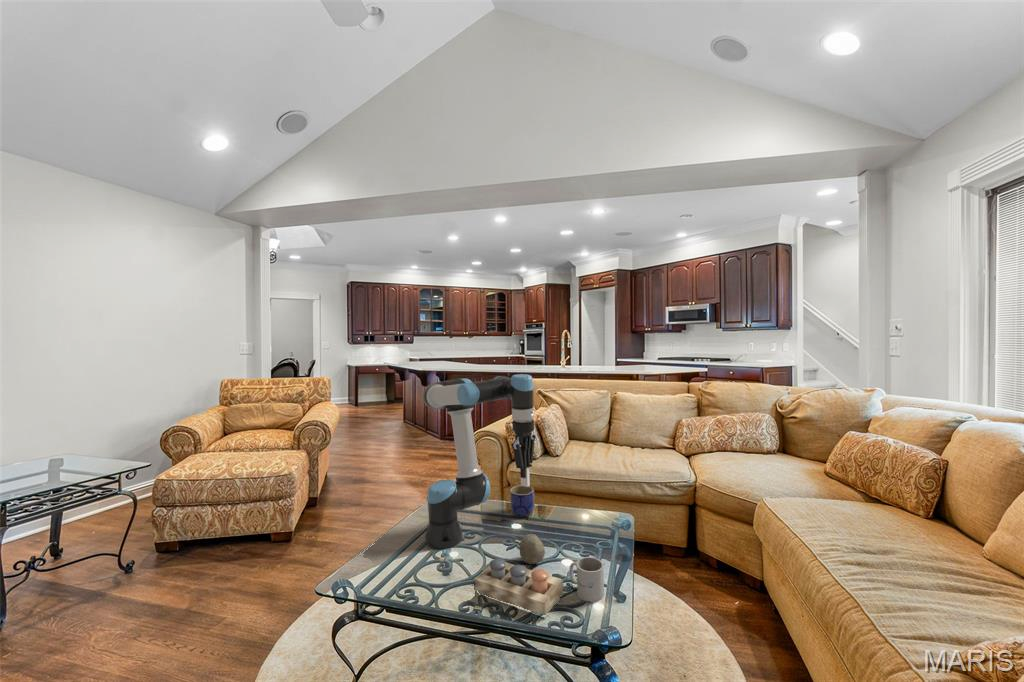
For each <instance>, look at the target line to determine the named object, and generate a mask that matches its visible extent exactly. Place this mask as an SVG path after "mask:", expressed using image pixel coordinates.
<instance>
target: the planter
mask: <svg viewBox="0 0 1024 682" xmlns="http://www.w3.org/2000/svg"><path fill="white" fill-rule="evenodd" d="M509 501H510V509H511V511H512V513H513V514H514V515H515V516H516V517H520V518H524V517H528V516H530V515H531V514H532V513H533V511H534V508H535V489H534V487H532V486H528V487H525V486H521V484H520V485H515V486H513V487H511V488H510V489H509Z"/></svg>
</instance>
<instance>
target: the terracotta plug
mask: <svg viewBox="0 0 1024 682" xmlns="http://www.w3.org/2000/svg"><path fill="white" fill-rule="evenodd" d="M548 576H549V572H548V571H547V570H545V569H541V568H538V569H534V570H532V573H531V578H532V585H533V591H535V592H537V593H540V594H543V595H544V594H545V593H546V592H547V591H548V585H547V578H548Z"/></svg>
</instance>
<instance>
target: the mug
mask: <svg viewBox="0 0 1024 682" xmlns="http://www.w3.org/2000/svg"><path fill="white" fill-rule="evenodd" d="M574 566H576V577H575V575H574ZM604 569H605V568H604V563H603V561H602V560H600V559H599V558H597V557H593V556H584V557H581V558H579V559H578V560H577V561H573V562H571V563H570V566H569V577H570V578H571V581H572V582H573V583H574V584H576V587H577V596H578V598H580V599H581V600H583V601H584V602H587V601H590V603H597V602H600V601H601V600H603V599H604V597H605V580H604V579H605V574H604V573H605V572H604Z"/></svg>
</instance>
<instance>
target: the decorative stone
mask: <svg viewBox="0 0 1024 682" xmlns="http://www.w3.org/2000/svg"><path fill="white" fill-rule="evenodd" d="M545 554H546V551H545V545H544V543H543V542H542V541H541V539H540V538H539V536H537V535H536V534H535V533H533V534H532V533H529V534H526V535H525V536H524V537H522V538H521V541H520V543H519V555H520V557H521V559H522V560H523V561H524V562H525V563H526V564H530V565H535V564H538V563H540V562H541V561H542V560H543V559H544V557H545Z"/></svg>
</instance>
